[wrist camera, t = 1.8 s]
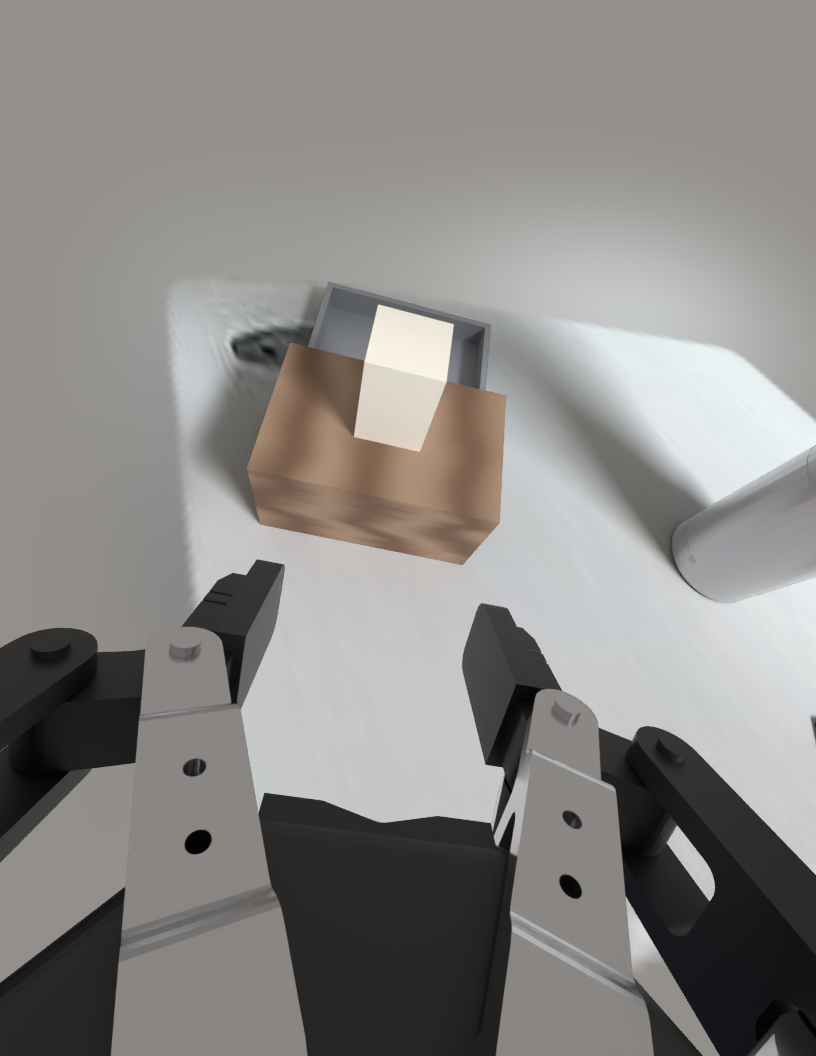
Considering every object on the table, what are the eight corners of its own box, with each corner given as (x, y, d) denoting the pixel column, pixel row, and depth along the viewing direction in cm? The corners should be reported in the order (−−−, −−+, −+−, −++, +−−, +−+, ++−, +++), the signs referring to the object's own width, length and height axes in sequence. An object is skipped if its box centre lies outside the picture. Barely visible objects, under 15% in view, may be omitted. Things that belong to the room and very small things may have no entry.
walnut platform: (471, 455, 46) (506, 395, 38) (462, 564, 41) (499, 522, 33) (293, 414, 44) (290, 342, 36) (259, 524, 39) (246, 468, 31)
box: (481, 345, 53) (490, 324, 50) (472, 451, 46) (482, 433, 44) (327, 305, 51) (328, 281, 48) (295, 410, 44) (294, 389, 41)
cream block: (427, 400, 36) (453, 324, 29) (419, 452, 34) (446, 382, 27) (365, 385, 36) (378, 304, 29) (353, 436, 33) (364, 361, 27)
